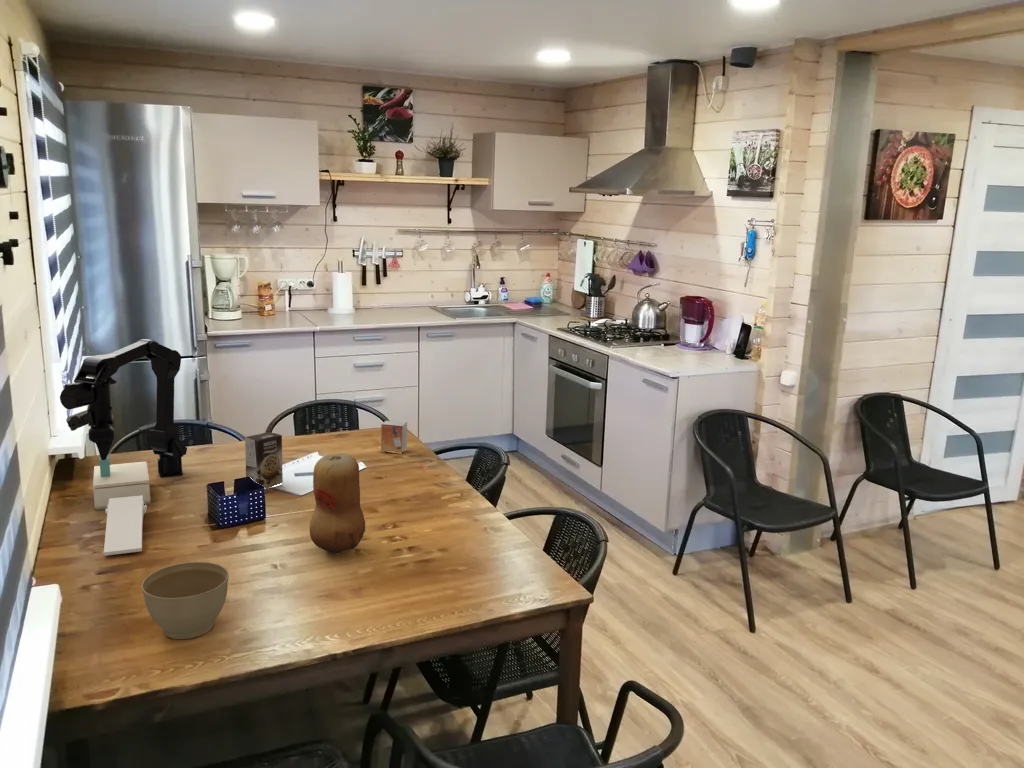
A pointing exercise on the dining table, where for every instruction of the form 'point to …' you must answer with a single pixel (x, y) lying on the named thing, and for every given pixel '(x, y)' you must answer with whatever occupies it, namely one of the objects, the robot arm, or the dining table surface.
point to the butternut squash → (337, 504)
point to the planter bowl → (186, 597)
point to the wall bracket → (124, 525)
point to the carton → (120, 494)
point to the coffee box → (264, 458)
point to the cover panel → (119, 474)
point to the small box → (393, 436)
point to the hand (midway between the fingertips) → (103, 455)
